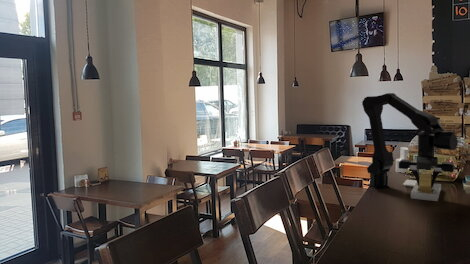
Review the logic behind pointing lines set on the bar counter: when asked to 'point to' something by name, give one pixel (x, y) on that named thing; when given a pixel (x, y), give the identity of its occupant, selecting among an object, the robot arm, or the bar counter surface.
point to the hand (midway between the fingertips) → (425, 187)
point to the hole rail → (426, 193)
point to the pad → (410, 183)
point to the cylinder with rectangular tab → (402, 156)
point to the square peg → (425, 182)
